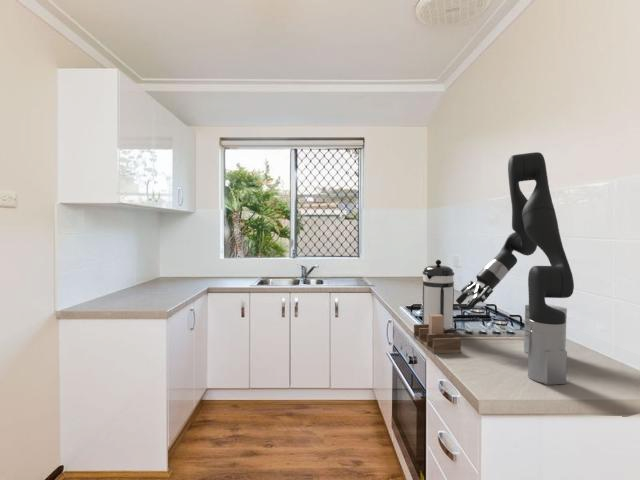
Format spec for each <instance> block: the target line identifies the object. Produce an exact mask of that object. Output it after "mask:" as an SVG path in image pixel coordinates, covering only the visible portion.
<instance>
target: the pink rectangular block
mask: <svg viewBox="0 0 640 480" xmlns="http://www.w3.org/2000/svg"><path fill="white" fill-rule="evenodd" d="M443 331H444V316H443V315H441V314H429V334H443Z"/></svg>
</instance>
